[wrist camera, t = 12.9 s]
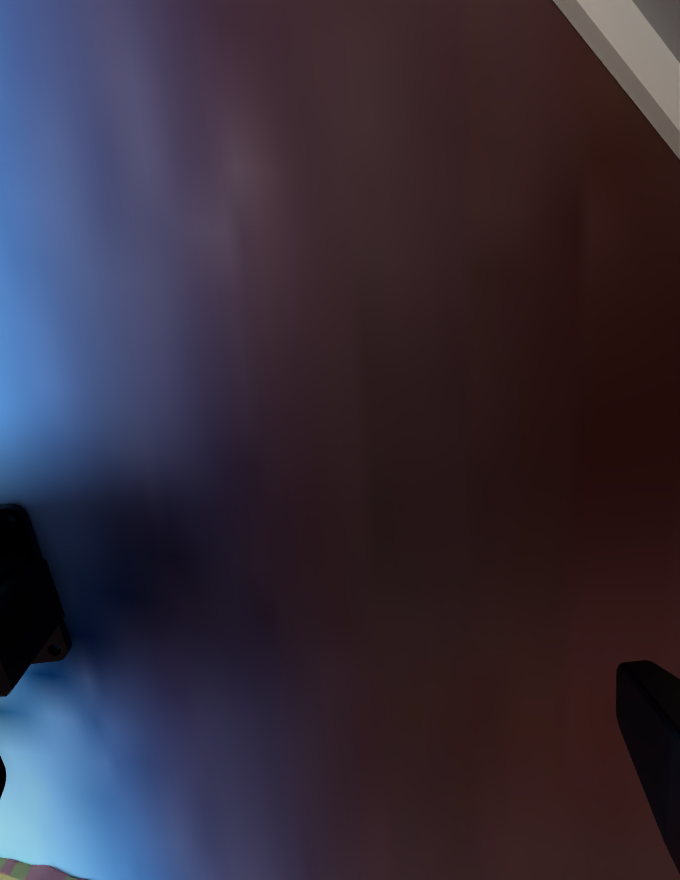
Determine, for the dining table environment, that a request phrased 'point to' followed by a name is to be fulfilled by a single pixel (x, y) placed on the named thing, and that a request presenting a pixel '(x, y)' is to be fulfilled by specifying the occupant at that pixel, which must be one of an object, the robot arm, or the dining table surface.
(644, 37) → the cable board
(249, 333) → the dining table surface
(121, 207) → the dining table surface
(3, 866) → the candy landscape model
